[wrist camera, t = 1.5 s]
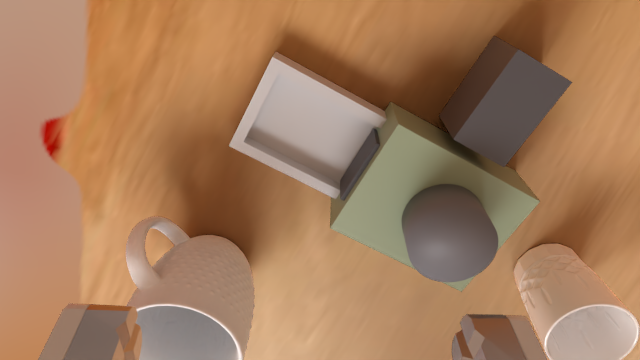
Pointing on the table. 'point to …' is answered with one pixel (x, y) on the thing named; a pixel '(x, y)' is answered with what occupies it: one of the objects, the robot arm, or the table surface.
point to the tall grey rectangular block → (501, 101)
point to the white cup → (573, 307)
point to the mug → (190, 295)
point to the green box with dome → (385, 173)
